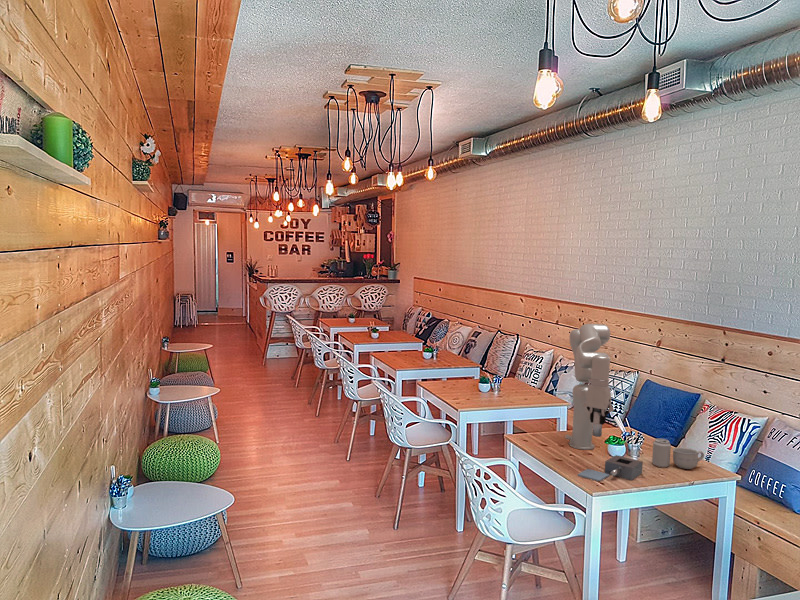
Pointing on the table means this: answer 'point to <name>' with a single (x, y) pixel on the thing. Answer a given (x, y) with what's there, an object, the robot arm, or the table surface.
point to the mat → (593, 475)
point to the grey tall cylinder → (597, 423)
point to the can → (661, 453)
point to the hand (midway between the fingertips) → (597, 422)
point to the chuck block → (623, 467)
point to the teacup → (686, 457)
